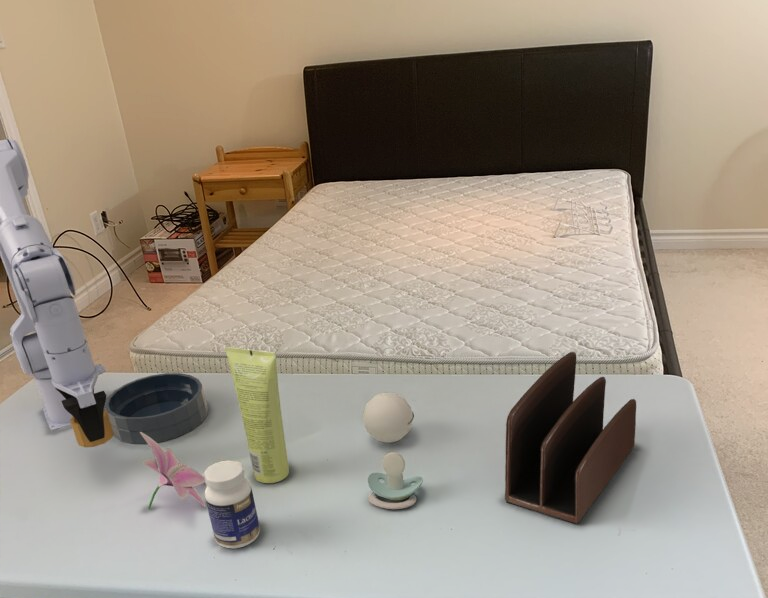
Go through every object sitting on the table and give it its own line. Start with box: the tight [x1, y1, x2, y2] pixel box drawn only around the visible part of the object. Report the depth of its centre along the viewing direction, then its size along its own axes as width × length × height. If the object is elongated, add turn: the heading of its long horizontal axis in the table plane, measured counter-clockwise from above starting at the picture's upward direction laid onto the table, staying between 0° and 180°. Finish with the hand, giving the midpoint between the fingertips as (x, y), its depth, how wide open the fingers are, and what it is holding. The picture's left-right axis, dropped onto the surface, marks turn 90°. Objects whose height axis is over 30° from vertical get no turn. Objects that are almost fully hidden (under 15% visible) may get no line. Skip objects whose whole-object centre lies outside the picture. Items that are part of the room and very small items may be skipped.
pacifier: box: [367, 451, 424, 510], centre depth 98 cm, size 7×6×6 cm
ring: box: [70, 408, 114, 448], centre depth 109 cm, size 5×5×4 cm
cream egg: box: [362, 392, 415, 444], centre depth 112 cm, size 10×7×7 cm
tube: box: [224, 346, 290, 484], centre depth 103 cm, size 6×5×20 cm
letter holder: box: [504, 351, 637, 525], centre depth 98 cm, size 10×20×14 cm, turn 145°
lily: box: [140, 432, 207, 510], centre depth 102 cm, size 12×12×10 cm
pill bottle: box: [203, 460, 261, 549], centre depth 94 cm, size 6×6×10 cm
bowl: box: [104, 372, 209, 445], centre depth 123 cm, size 15×15×5 cm
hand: (93, 431), depth 109 cm, fingers closed on ring, 5 cm apart
